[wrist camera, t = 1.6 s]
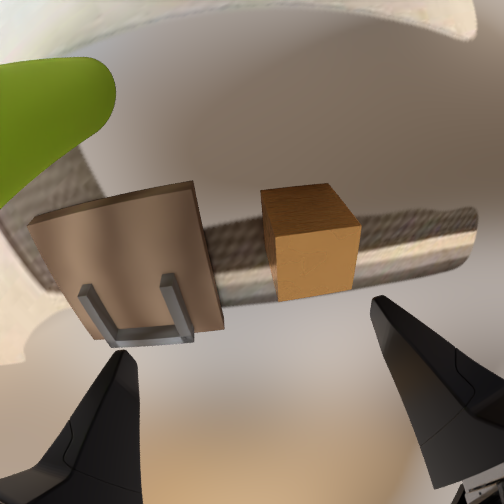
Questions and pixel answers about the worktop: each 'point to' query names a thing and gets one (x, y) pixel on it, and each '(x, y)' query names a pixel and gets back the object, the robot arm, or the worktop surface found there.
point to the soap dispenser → (48, 114)
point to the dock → (134, 266)
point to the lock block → (309, 240)
